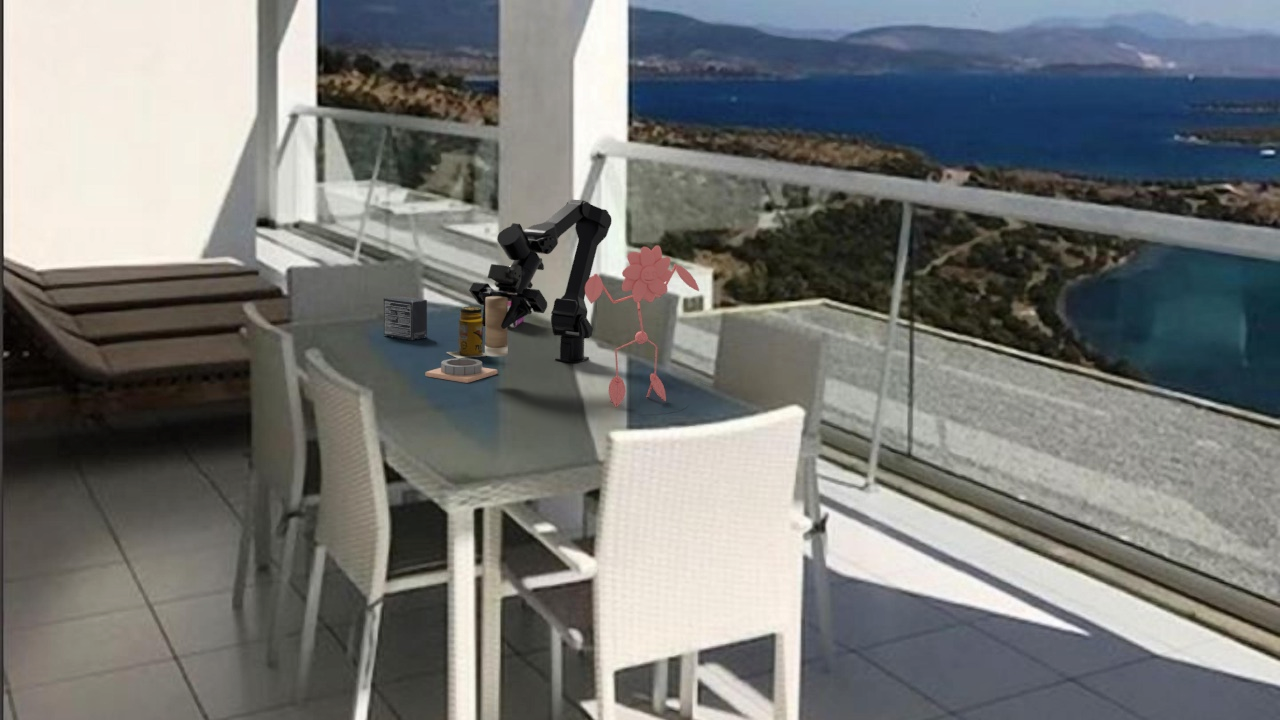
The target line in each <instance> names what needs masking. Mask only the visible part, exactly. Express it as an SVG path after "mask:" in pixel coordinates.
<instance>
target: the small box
mask: <svg viewBox="0 0 1280 720" xmlns="http://www.w3.org/2000/svg"><path fill="white" fill-rule="evenodd" d="M384 335H388V336H393V337H398V338H397V339H400V338H403V339H402V340H406V339H408V341H416V340H415V339H417V340H420V338H422V339H425V338H424V337H426V338H428V300H427V299H424V298H422V299H421V298H415V297H414V298H413V297H408V296H401V295H399V296H398V295H397V296H389V297H384V298H383V336H384ZM393 337H392V338H393Z"/></svg>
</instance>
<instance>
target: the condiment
mask: <svg viewBox="0 0 1280 720" xmlns="http://www.w3.org/2000/svg"><path fill="white" fill-rule="evenodd" d="M459 316H460V317H459V319H458V351H457V350H456V351H446V354H448V355H450V356H451V357H455V359H456V358H478V357H486V356H487V355H485V352H484V343H483V342H484V337H483V336H484V326H483V325H482V318H483V314H482V308H481V307H478V306H463V307H461V308H460V314H459ZM487 357H488V356H487Z"/></svg>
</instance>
